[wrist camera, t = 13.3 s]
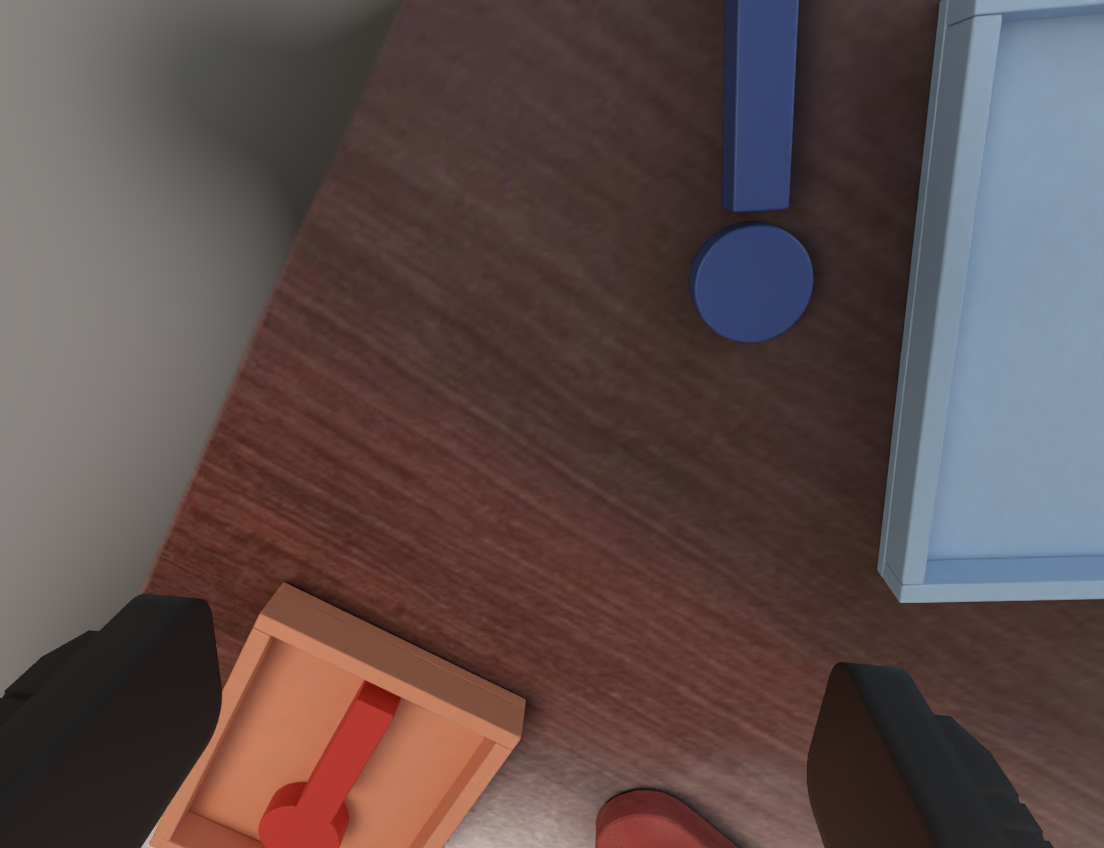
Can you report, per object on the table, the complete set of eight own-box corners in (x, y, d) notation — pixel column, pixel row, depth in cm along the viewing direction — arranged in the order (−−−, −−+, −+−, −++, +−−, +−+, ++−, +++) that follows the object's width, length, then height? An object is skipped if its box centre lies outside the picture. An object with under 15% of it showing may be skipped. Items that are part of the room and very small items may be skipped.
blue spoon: (689, -43, 18) (698, -64, 17) (821, -56, 18) (844, -78, 16) (688, 336, 22) (696, 351, 20) (799, 331, 21) (816, 345, 20)
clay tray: (283, 580, 26) (259, 613, 24) (526, 699, 27) (521, 738, 25) (175, 803, 30) (148, 845, 29) (388, 896, 32) (375, 942, 30)
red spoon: (349, 655, 26) (332, 688, 25) (429, 692, 27) (418, 728, 25) (259, 820, 30) (239, 859, 28) (331, 851, 30) (316, 892, 29)
